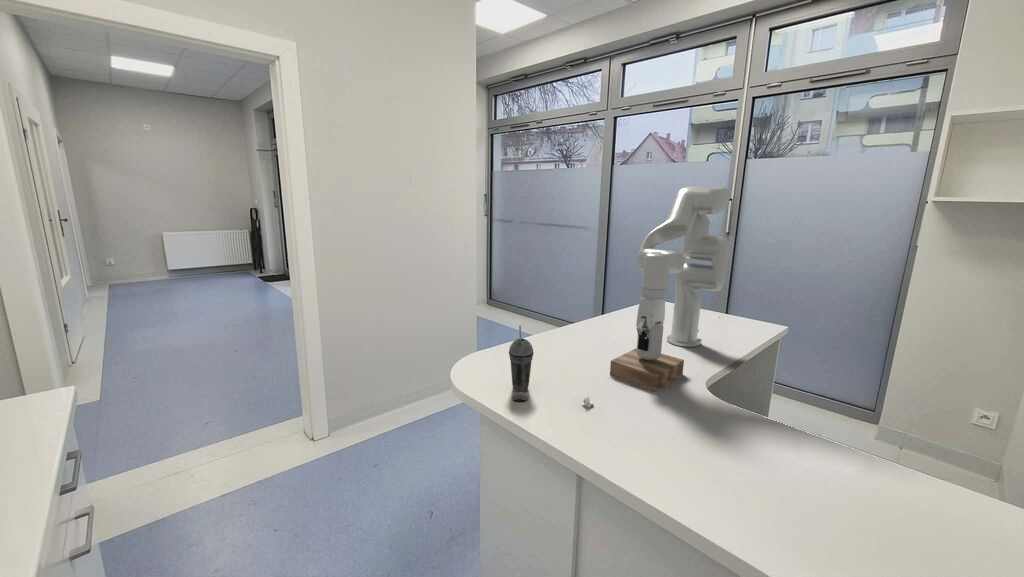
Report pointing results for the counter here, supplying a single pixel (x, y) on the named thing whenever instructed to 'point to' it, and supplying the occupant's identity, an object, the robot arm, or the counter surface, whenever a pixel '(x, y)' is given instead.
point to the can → (652, 343)
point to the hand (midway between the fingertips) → (649, 346)
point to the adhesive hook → (587, 402)
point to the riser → (647, 370)
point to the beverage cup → (520, 363)
